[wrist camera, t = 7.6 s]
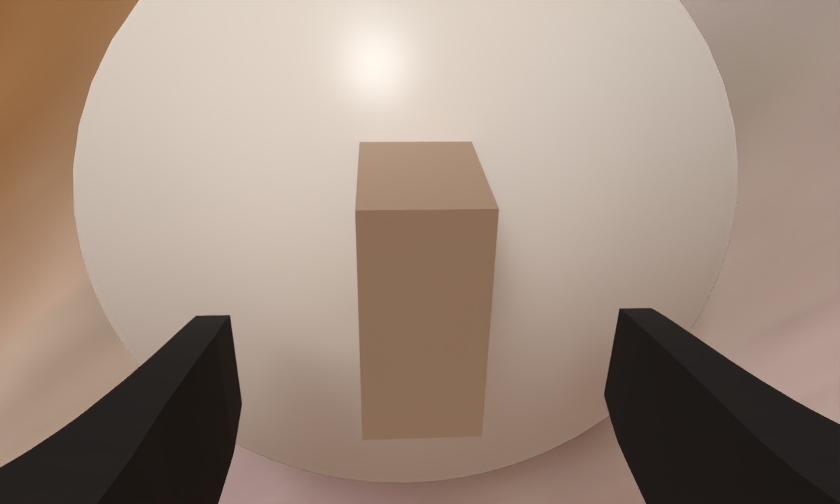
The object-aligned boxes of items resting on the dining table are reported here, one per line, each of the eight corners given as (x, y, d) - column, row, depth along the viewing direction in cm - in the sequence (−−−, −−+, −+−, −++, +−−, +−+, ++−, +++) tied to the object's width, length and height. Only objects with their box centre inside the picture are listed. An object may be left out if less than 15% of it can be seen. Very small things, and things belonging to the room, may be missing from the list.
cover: (802, -118, 13) (973, -127, 9) (662, 459, 20) (728, 586, 16) (3, -134, 12) (-162, -150, 8) (146, 475, 19) (90, 614, 15)
